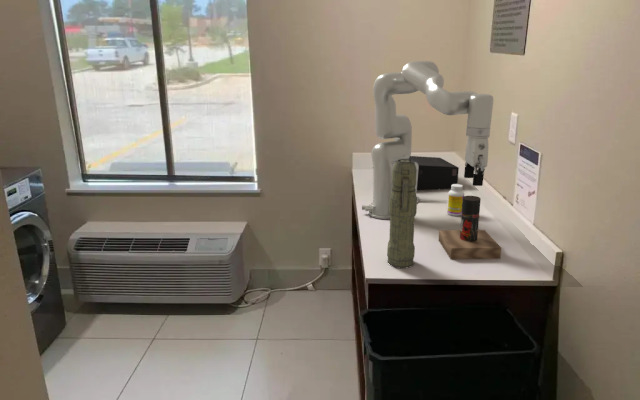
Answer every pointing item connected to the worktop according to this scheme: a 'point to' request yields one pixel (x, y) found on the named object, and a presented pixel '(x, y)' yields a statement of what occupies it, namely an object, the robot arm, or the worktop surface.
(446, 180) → the headphone box
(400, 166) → the thermos
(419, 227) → the worktop surface
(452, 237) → the walnut stand
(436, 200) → the worktop surface
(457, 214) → the supplement bottle
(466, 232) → the deodorant
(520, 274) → the worktop surface
